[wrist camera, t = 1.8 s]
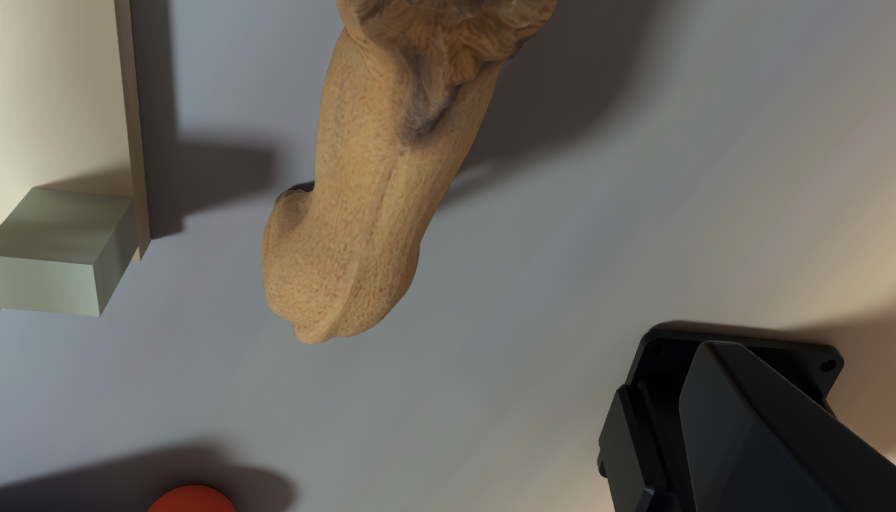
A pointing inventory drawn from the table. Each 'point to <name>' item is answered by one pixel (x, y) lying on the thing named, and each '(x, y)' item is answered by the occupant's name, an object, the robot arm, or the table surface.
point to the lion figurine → (386, 154)
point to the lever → (192, 500)
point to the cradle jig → (68, 155)
